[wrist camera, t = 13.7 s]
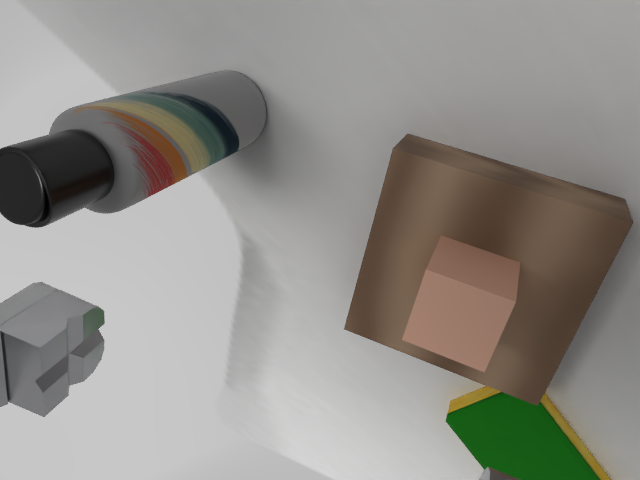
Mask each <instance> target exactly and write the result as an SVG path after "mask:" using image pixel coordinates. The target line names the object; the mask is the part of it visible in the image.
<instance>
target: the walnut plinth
mask: <svg viewBox="0 0 640 480" xmlns="http://www.w3.org/2000/svg"><path fill="white" fill-rule="evenodd" d="M632 224H633V221H632V218H631V215H630V212H629V209H628V207H627V204H626V201H625V199H622V198H619V197H616V196H612V195H609V194H606V193H602V192H599V191H596V190H593V189H589V188H586V187H583V186H579V185H576V184H573V183H569V182H566V181H563V180H559V179H556V178H553V177H549V176H546V175H543V174H539V173H536V172H533V171H529V170H526V169H523V168H520V167H516V166H513V165H510V164H506V163H503V162H500V161H496V160H493V159H490V158H486V157H483V156H480V155H476V154H473V153H470V152H466V151H463V150H460V149H456V148H453V147H450V146H447V145H443V144H440V143H437V142H433V141H430V140H427V139H423V138H420V137H417V136H413V135H410V134H407V135H406V136H405V137H404V138H403V139H402V140H401V141H400V142H399V143H398V144H397V145H396V146H395V147H394V148H393V151H392V154H391V158H390V162H389V165H388V169H387V173H386V176H385V180H384V184H383V188H382V191H381V195H380V199H379V202H378V206H377V210H376V213H375V217H374V221H373V224H372V228H371V232H370V235H369V239H368V243H367V247H366V250H365V254H364V258H363V261H362V265H361V269H360V272H359V276H358V280H357V283H356V287H355V291H354V294H353V298H352V302H351V305H350V309H349V313H348V317H347V320H346V324H345V328H344V329H345V330H348V331H350V332H353V333H355V334H358V335H360V336H363V337H365V338H368V339H370V340H373V341H375V342H378V343H380V344H383V345H385V346H388V347H390V348H393V349H395V350H398V351H400V352H403V353H406V354H408V355H411V356H413V357H416V358H418V359H421V360H423V361H426V362H428V363H431V364H433V365H436V366H438V367H441V368H443V369H446V370H448V371H451V372H453V373H456V374H458V375H461V376H463V377H466V378H468V379H471V380H473V381H476V382H478V383H481V384H483V385H486V386H488V387H491V388H494V389H496V390H499V391H501V392H504V393H506V394H509V395H511V396H514V397H516V398H519V399H521V400H524V401H526V402H529V403H531V404H534V405H536V406H538V404H539V402H540V400H541V399H542V397H543V395H544V393H545V391H546V389H547V387H548V385H549V383H550V381H551V379H552V377H553V376H554V374H555V372H556V370H557V368H558V366H559V364H560V362H561V360H562V358H563V356H564V354H565V352H566V351H567V349H568V347H569V345H570V343H571V341H572V339H573V337H574V335H575V333H576V331H577V329H578V327H579V326H580V324H581V322H582V320H583V318H584V316H585V314H586V312H587V310H588V308H589V306H590V304H591V303H592V301H593V299H594V297H595V295H596V293H597V291H598V289H599V287H600V285H601V283H602V281H603V279H604V278H605V276H606V274H607V272H608V270H609V268H610V266H611V264H612V262H613V260H614V258H615V256H616V254H617V253H618V251H619V249H620V247H621V245H622V243H623V241H624V239H625V237H626V235H627V233H628V231H629V230H630V228H631V226H632ZM441 235H442V236H444V237H447V238H450V239H453V240H456V241H459V242H462V243H465V244H468V245H471V246H473V247H476V248H479V249H482V250H485V251H488V252H491V253H494V254H497V255H500V256H503V257H505V258H508V259H511V260H514V261H517V262H520V271H519V280H518V289H517V298H516V303H515V305H514V308H513V310H512V312H511V314H510V317H509V319H508V321H507V323H506V325H505V328H504V330H503V332H502V334H501V337H500V339H499V341H498V343H497V346H496V348H495V350H494V352H493V355H492V357H491V359H490V361H489V363H488V366H487V368H486V370H485V372H482V371H479V370H477V369H474V368H472V367H469V366H467V365H464V364H462V363H459V362H457V361H454V360H452V359H449V358H447V357H444V356H442V355H439V354H437V353H434V352H431V351H429V350H426V349H424V348H421V347H419V346H416V345H414V344H411V343H409V342H406V341H404V340H402V338H403V335H404V332H405V329H406V326H407V323H408V320H409V317H410V315H411V312H412V309H413V306H414V303H415V300H416V297H417V294H418V291H419V288H420V285H421V282H422V279H423V277H424V274H425V271H426V268H427V266H428V264H429V261H430V259H431V257H432V255H433V253H434V250H435V248H436V246H437V244H438V241H439V239H440V237H441Z"/></svg>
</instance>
